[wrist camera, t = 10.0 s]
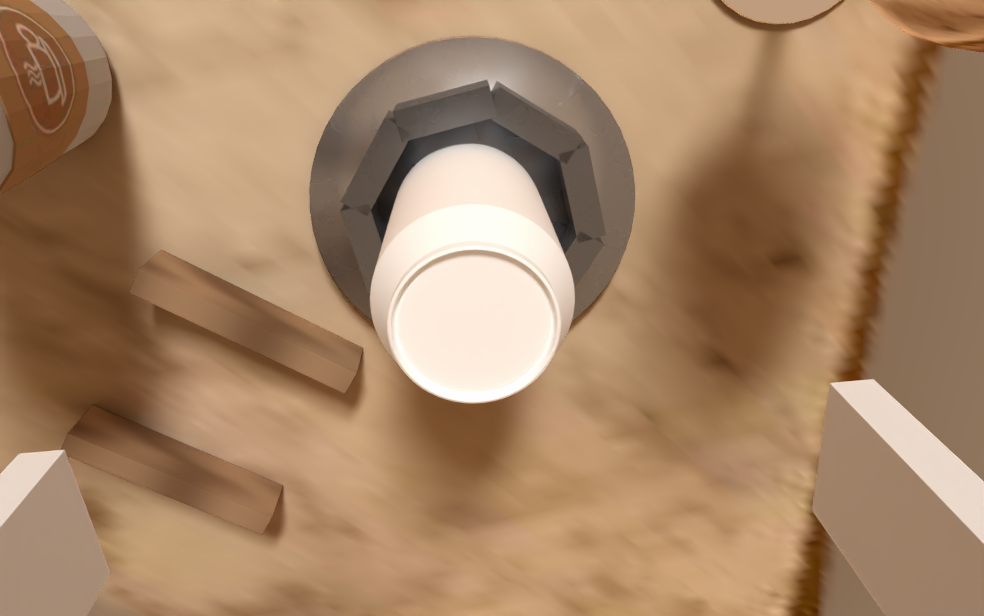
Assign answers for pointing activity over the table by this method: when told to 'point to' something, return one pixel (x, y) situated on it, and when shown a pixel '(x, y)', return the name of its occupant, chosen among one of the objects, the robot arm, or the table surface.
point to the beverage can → (471, 277)
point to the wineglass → (887, 17)
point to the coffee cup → (47, 85)
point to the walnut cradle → (181, 465)
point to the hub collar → (481, 120)
